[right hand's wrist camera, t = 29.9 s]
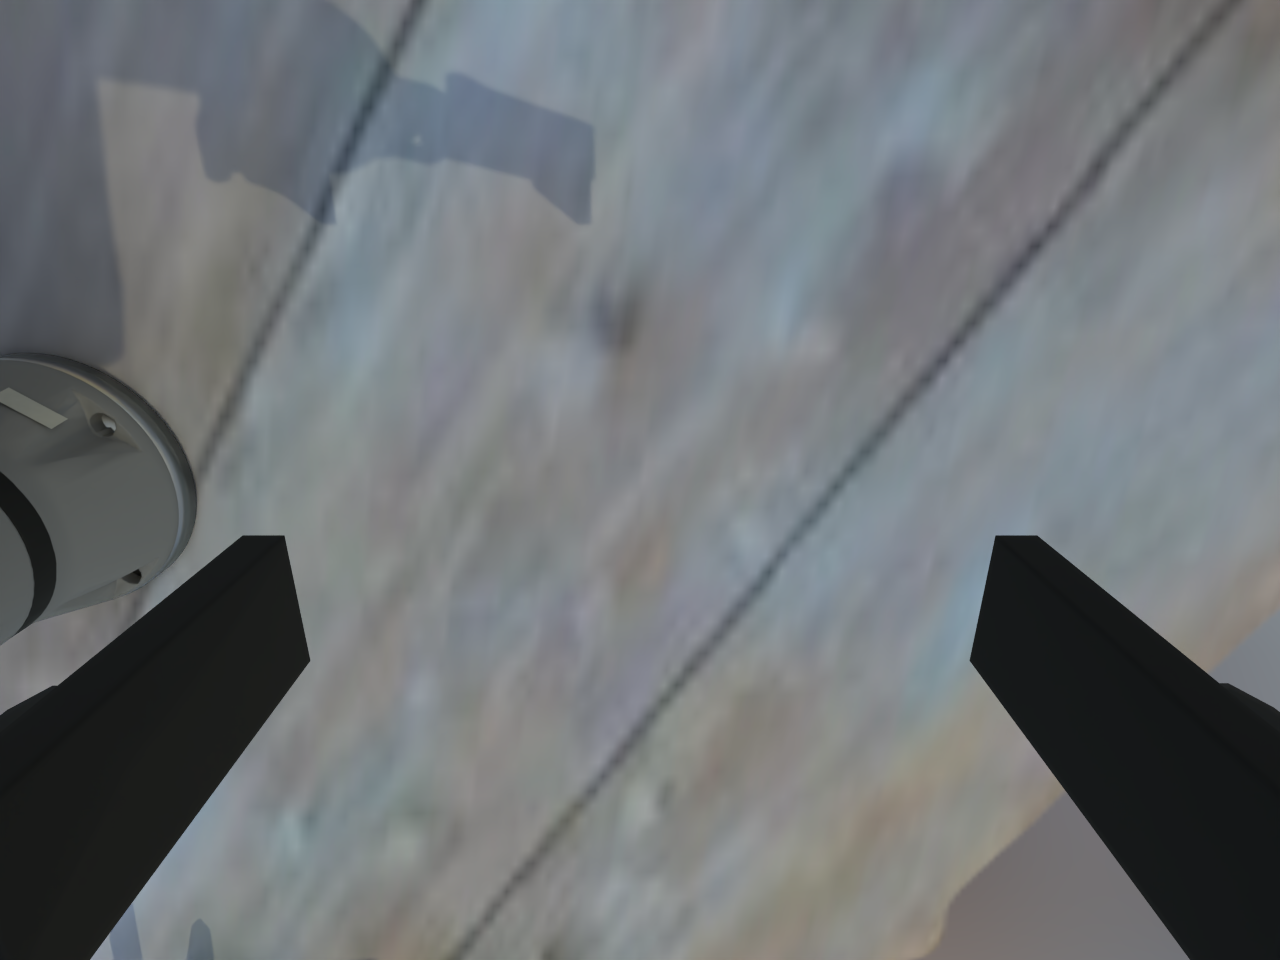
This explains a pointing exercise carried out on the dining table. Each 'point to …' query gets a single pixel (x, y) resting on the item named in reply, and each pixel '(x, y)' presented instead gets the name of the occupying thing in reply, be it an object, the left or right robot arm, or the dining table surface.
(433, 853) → the dining table surface
